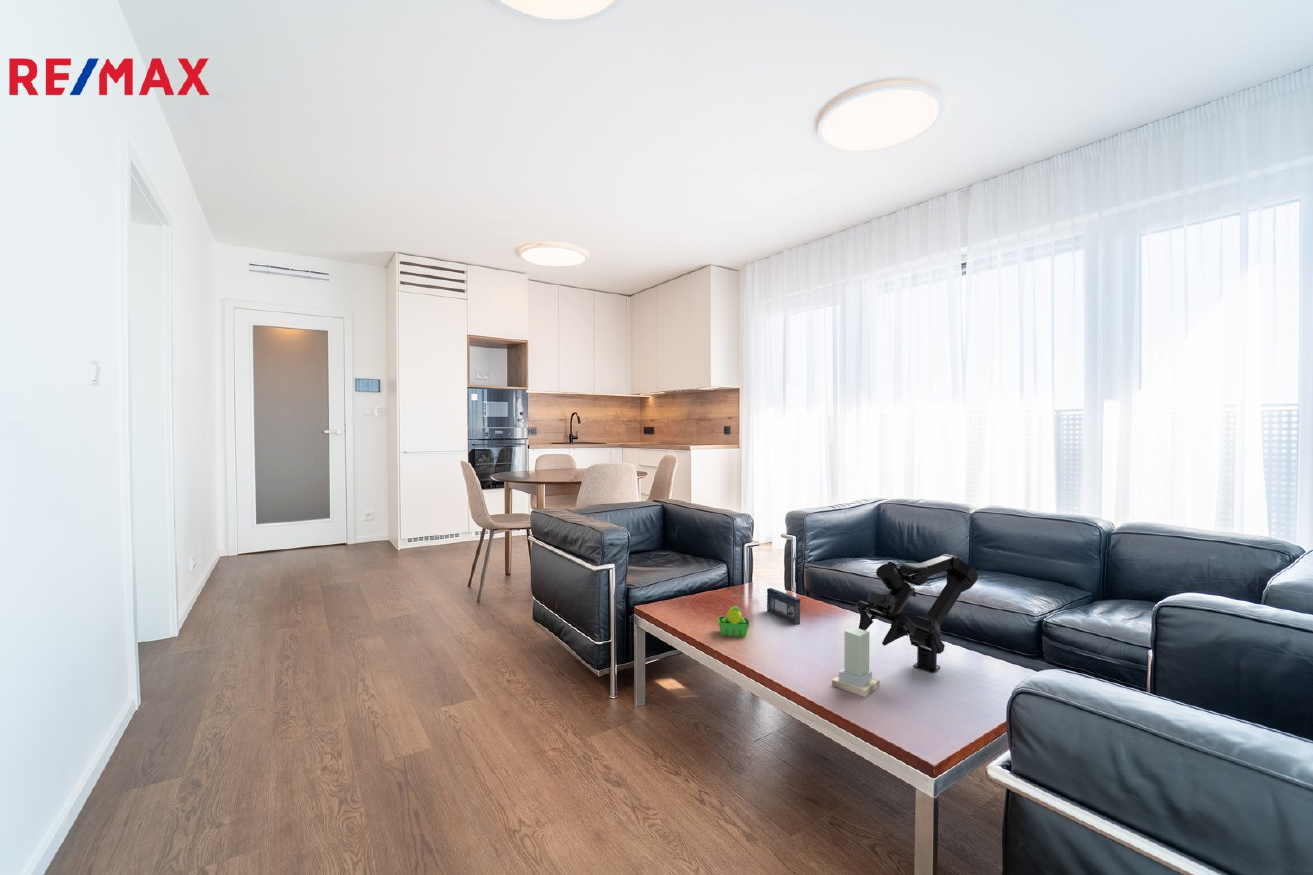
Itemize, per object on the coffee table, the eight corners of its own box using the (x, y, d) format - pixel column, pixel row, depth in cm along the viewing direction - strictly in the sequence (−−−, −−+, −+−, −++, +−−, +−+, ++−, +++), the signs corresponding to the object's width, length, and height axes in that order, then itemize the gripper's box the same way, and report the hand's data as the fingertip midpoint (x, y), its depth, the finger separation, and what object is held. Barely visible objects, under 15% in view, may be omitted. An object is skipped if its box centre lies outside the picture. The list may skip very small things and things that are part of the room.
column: (854, 665, 169) (854, 627, 168) (869, 671, 165) (869, 632, 164) (844, 670, 166) (844, 630, 165) (859, 676, 162) (859, 636, 161)
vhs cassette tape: (766, 611, 235) (766, 588, 235) (772, 610, 236) (772, 587, 236) (794, 625, 218) (794, 600, 218) (800, 624, 220) (800, 599, 220)
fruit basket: (748, 631, 211) (748, 601, 211) (749, 639, 202) (750, 608, 202) (717, 629, 212) (718, 600, 212) (718, 638, 203) (718, 607, 203)
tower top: (849, 672, 170) (849, 664, 170) (871, 679, 166) (871, 671, 166) (838, 679, 165) (839, 671, 165) (862, 687, 160) (862, 678, 160)
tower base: (847, 678, 172) (847, 670, 172) (879, 688, 165) (879, 680, 165) (832, 688, 165) (832, 679, 165) (864, 699, 158) (865, 690, 158)
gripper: (859, 575, 179) (834, 614, 174) (910, 590, 162) (883, 633, 157) (876, 596, 182) (852, 635, 177) (927, 613, 166) (901, 656, 161)
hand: (870, 639), depth 168 cm, fingers open, 9 cm apart
